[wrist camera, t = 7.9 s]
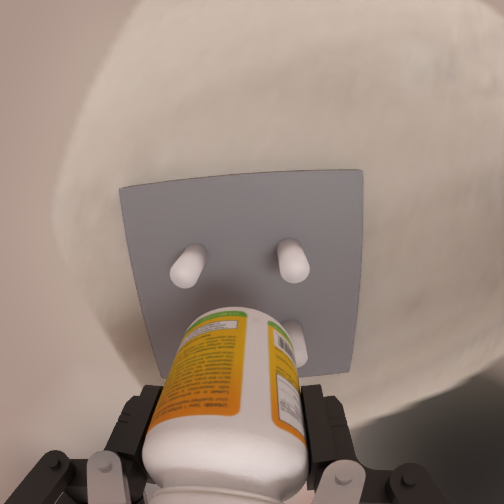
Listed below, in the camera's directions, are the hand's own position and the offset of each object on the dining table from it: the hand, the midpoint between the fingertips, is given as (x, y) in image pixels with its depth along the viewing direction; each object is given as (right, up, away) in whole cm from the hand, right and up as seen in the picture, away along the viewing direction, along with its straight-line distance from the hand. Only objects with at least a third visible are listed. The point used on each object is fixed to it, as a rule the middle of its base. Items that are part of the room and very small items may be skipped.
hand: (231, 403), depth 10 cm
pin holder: (0, +3, +11) cm, 11 cm away
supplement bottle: (0, +1, +3) cm, 4 cm away
